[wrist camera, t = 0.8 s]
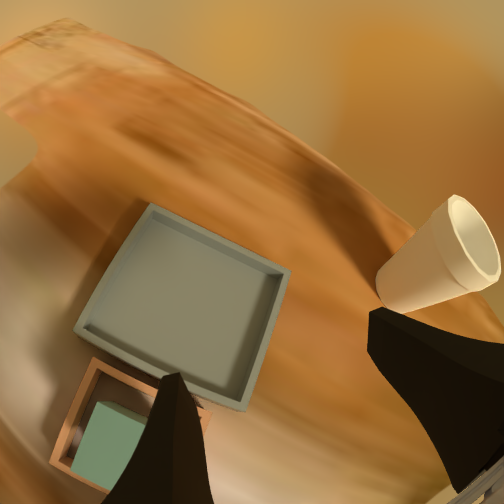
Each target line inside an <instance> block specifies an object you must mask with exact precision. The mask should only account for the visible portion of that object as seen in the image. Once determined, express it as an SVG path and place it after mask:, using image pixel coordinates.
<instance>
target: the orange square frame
mask: <svg viewBox="0 0 504 504" xmlns="http://www.w3.org/2000/svg"><path fill="white" fill-rule="evenodd" d="M102 371H103V372H104V373H106V374H108V375H110V376H112V377H114V378H115V379H117V380H119V381H121V382H123V383H125V384H127V385H129V386H131V387H133V388H135V389H137V390H139V391H141V392H143V393H145V394H148V395H150V396H152V397H154V398H155V397H156V394H157V391H158V390H157V389H155V388H153V387H151V386H149V385H147V384H145V383H142V382H140V381H138V380H136V379H134V378H132V377H130V376H128V375H126V374H124V373H123V372H121V371H119V370H117V369H115V368H113V367H111V366H109V365H108V364H106V363H104V362H102V361H100V360H99V359H97V358H95V357H93V358H92V360H91V362H90V364H89V366H88V368H87V370H86V373H85V375H84V377H83V379H82V381H81V384H80V386H79V388H78V390H77V393H76V395H75V397H74V400H73V402H72V404H71V407H70V409H69V411H68V414H67V416H66V419H65V421H64V424H63V426H62V429H61V431H60V434H59V436H58V439H57V442H56V444H55V447H54V450H53V452H52V455H51V458H50V461H49V463H50V464H51V465H53V466H54V467H56V468H58V469H60V470H61V471H63V472H65V473H66V474H68V475H70V476H72V477H74V478H75V479H77V480H79V481H81V482H83V483H85V484H87V485H89V486H91V487H93V488H95V489H97V490H99V491H101V492H103V493H105V494H109V493H110V490H108V489H105V488H103V487H101V486H99V485H97V484H95V483H93V482H91V481H89V480H87V479H85V478H83V477H81V476H79V475H78V474H76V473H74V472H72V471H70V469H71V466H72V463H73V461H74V460H73V459H71V458H70V457H68V456H67V453H68V450H69V448H70V445H71V443H72V440H73V437H74V435H75V432H76V430H77V427H78V425H79V423H80V420H81V418H82V415H83V413H84V410H85V408H86V406H87V403H88V401H89V399H90V397H91V394H92V392H93V390H94V387H95V385H96V383H97V381H98V379H99V376H100V374H101V372H102ZM197 410H198V414H199V418H200V423H201V427H202V431H203V436H204V434H205V431H206V428H207V426H208V423H209V421H210V418H211V415H212V412H210V411H207V410H205V409H202V408H199V407H197Z"/></svg>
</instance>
